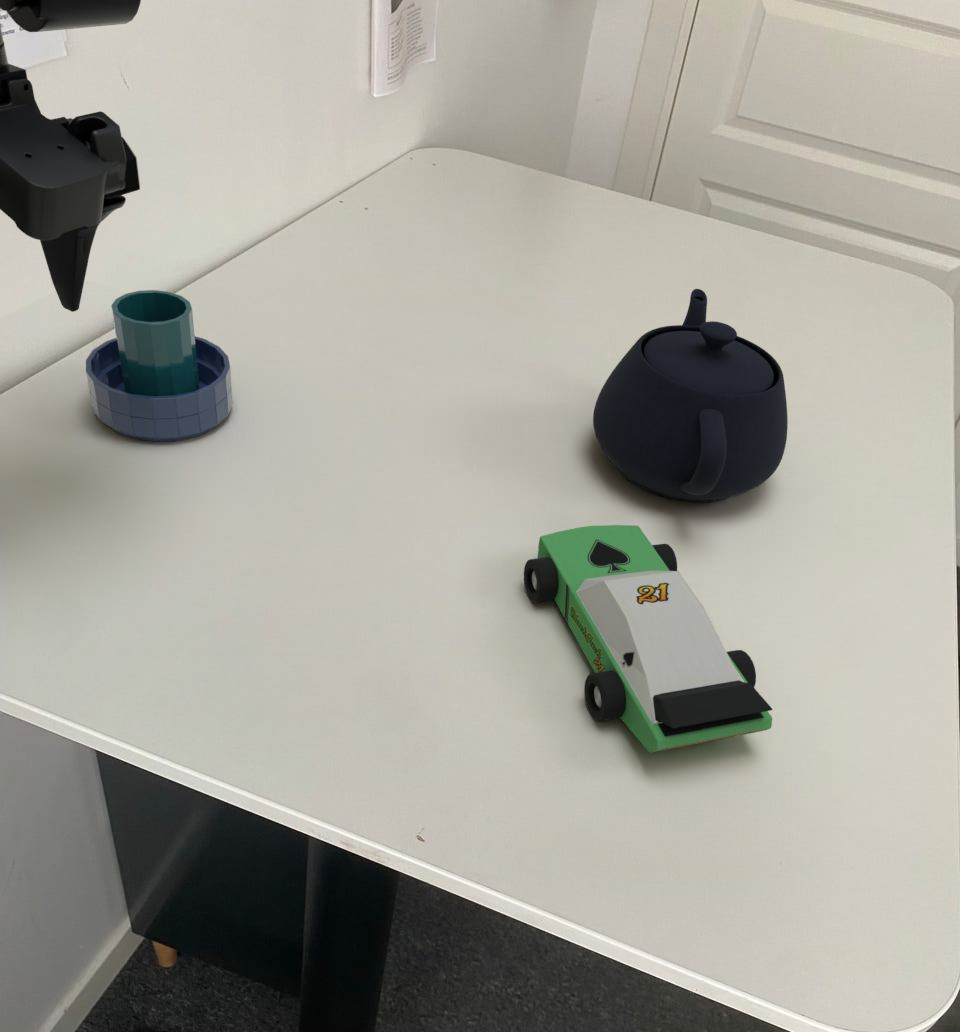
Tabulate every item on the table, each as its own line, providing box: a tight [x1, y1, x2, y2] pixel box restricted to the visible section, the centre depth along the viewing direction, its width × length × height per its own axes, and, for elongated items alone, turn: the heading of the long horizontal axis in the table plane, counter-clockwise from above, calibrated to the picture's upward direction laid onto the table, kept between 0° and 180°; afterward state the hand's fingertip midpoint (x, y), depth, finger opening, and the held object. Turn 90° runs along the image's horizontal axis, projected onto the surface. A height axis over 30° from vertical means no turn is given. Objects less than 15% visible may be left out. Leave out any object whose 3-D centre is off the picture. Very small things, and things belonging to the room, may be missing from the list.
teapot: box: [592, 288, 789, 503], centre depth 75 cm, size 25×16×12 cm, turn 174°
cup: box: [111, 289, 200, 396], centre depth 72 cm, size 6×6×8 cm
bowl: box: [85, 335, 234, 442], centre depth 74 cm, size 11×11×4 cm
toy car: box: [523, 524, 773, 754], centre depth 60 cm, size 10×19×5 cm, turn 18°
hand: (10, 332), depth 58 cm, fingers open, 9 cm apart
